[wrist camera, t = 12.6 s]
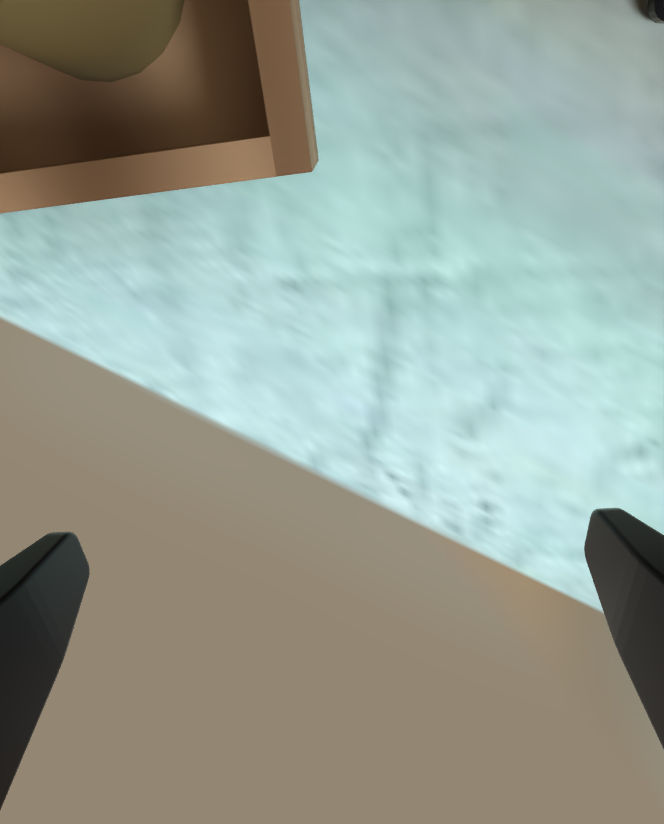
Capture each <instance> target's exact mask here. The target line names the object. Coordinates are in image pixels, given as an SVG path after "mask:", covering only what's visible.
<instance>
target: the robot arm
mask: <svg viewBox="0 0 664 824" xmlns="http://www.w3.org/2000/svg"><path fill="white" fill-rule="evenodd" d="M648 15H649V17H650V19H651V20H652V21H654V22H655V23H664V7H663V0H648ZM584 550H585V557H586V561H587V564H588V567H589V570H590V573H591V576H592V579H593V582H594V585H595V588H596V591H597V593H598V596H599V599H600V602H601V605H602V608H603V611H604V614H605V617H606V620H607V623H608V626H609V629H610V632H611V634H612V637H613V640H614V642H615V645H616V647H617V649H618V652H619V654H620V657H621V659H622V661H623V663H624V665H625V667H626V669H627V671H628V674H629V676H630V678H631V680H632V682H633V684H634V687H635V689H636V691H637V693H638V695H639V697H640V700H641V702H642V704H643V706H644V708H645V710H646V712H647V715H648V717H649V719H650V721H651V723H652V725H653V727H654V729H655V732H656V734H657V736H658V738H659V740H660V742H661V744H662V747H663V749H664V535H663V534H661V533H659V532H658V531H656V530H654V529H653V528H651V527H650V526H648V525H646V524H645V523H643V522H642V521H640V520H638V519H637V518H635V517H634V516H632V515H630V514H629V513H627V512H626V511H624V510H622V509H619V508H603V509H596V510H594V511H593V512H592V514H591V517H590V522H589V526H588V531H587V536H586V541H585V547H584ZM88 578H89V565H88V562H87V559H86V557H85V555H84V552H83V550H82V547H81V545H80V542H79V540H78V538H77V536H76V535H75V534H74V533H72V532H53V533H49V534H47V535H45V536H44V537H42V538H41V539H39V540H38V541H36V542H35V543H33V544H32V545H31V546H29V547H27V548H26V549H25V550H23V551H21V552H20V553H18V554H17V555H16V556H14V557H12V558H11V559H9V560H8V561H7V562H5V563H4V564H2V565H1V566H0V810H1V807H2V805H3V802H4V800H5V798H6V795H7V793H8V791H9V788H10V786H11V784H12V781H13V779H14V776H15V774H16V772H17V769H18V767H19V765H20V762H21V760H22V757H23V755H24V753H25V750H26V748H27V746H28V743H29V741H30V738H31V736H32V734H33V731H34V729H35V727H36V724H37V722H38V719H39V717H40V715H41V712H42V710H43V708H44V705H45V703H46V700H47V698H48V696H49V693H50V691H51V689H52V686H53V684H54V681H55V679H56V677H57V674H58V672H59V669H60V667H61V664H62V662H63V659H64V656H65V653H66V650H67V647H68V644H69V641H70V638H71V634H72V631H73V628H74V625H75V621H76V618H77V615H78V612H79V608H80V605H81V602H82V599H83V595H84V592H85V589H86V585H87V582H88Z"/></svg>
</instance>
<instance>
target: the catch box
mask: <svg viewBox="0 0 664 824" xmlns="http://www.w3.org/2000/svg"><path fill="white" fill-rule="evenodd" d="M317 162H318V152H317V144H316V136H315V128H314V120H313V111H312V103H311V95H310V87H309V79H308V71H307V63H306V55H305V46H304V38H303V30H302V22H301V14H300V6H299V0H184V5H183V10H182V15H181V20H180V23H179V25H178V27H177V29H176V31H175V33H174V34H173V36H172V38H171V40H170V42H169V44H168V45H167V47H166V49H165V51H164V53H163V54H161V55H160V56H159V57H158V58H157V59H156V60H155V61H153V62H152V63H151V64H150V65H149V66H148V67H146V68H145V69H144V70H143V71H142V72H141V73H138V74H135V75H132V76H129V77H126V78H123V79H120V80H117V81H114V82H102V81H88V80H80V79H77V78H75V77H73V76H70V75H68V74H66V73H63V72H61V71H59V70H56V69H54V68H52V67H49V66H47V65H45V64H43V63H41V62H39V61H36V60H34V59H32V58H30V57H28V56H25V55H23V54H21V53H19V52H17V51H15V50H12V49H10V48H8V47H6V46H4V45H1V44H0V213H6V212H13V211H21V210H28V209H36V208H43V207H51V206H59V205H66V204H74V203H81V202H89V201H96V200H104V199H111V198H119V197H126V196H134V195H141V194H149V193H156V192H164V191H171V190H179V189H186V188H194V187H201V186H209V185H216V184H224V183H231V182H239V181H246V180H254V179H261V178H269V177H276V176H284V175H291V174H299V173H306V172H312V171H313V169H314V167H315V166H316V164H317Z"/></svg>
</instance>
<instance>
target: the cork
mask: <svg viewBox="0 0 664 824" xmlns="http://www.w3.org/2000/svg"><path fill="white" fill-rule="evenodd" d="M183 5H184V0H0V44H1V45H4V46H6V47H8V48H10V49H12V50H15V51H17V52H19V53H21V54H23V55H25V56H28V57H30V58H32V59H34V60H36V61H39V62H41V63H43V64H45V65H47V66H49V67H52V68H54V69H56V70H59V71H61V72H63V73H66V74H68V75H70V76H73V77H75V78H77V79H80V80H88V81H102V82H114V81H117V80H120V79H123V78H126V77H129V76H132V75H135V74H138V73H141V72H142V71H143V70H144V69H145V68H146V67H148V66H149V65H150V64H151V63H152V62H153V61H155V60H156V59H157V58H158V57H159V56H160V55H161V54H163V53H164V51H165V49H166V47H167V45H168V44H169V42H170V40H171V38H172V36H173V34H174V33H175V31H176V29H177V27H178V25H179V23H180V20H181V15H182V10H183Z"/></svg>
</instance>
